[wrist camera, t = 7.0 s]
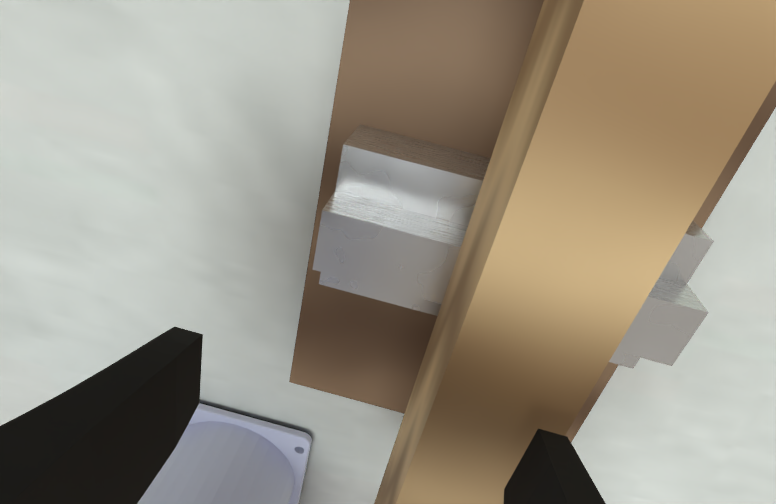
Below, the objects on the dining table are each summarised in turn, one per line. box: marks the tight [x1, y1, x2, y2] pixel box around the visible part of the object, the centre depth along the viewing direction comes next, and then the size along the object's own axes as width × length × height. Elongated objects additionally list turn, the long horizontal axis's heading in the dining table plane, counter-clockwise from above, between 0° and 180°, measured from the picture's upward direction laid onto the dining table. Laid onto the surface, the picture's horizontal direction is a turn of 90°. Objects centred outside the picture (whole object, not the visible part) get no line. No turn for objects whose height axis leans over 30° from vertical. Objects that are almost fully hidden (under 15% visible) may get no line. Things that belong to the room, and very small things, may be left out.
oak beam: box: [374, 0, 776, 504], centre depth 12 cm, size 22×3×4 cm, turn 167°
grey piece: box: [312, 124, 714, 368], centre depth 16 cm, size 5×11×4 cm, turn 77°
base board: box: [289, 0, 776, 442], centre depth 18 cm, size 20×13×1 cm, turn 167°
